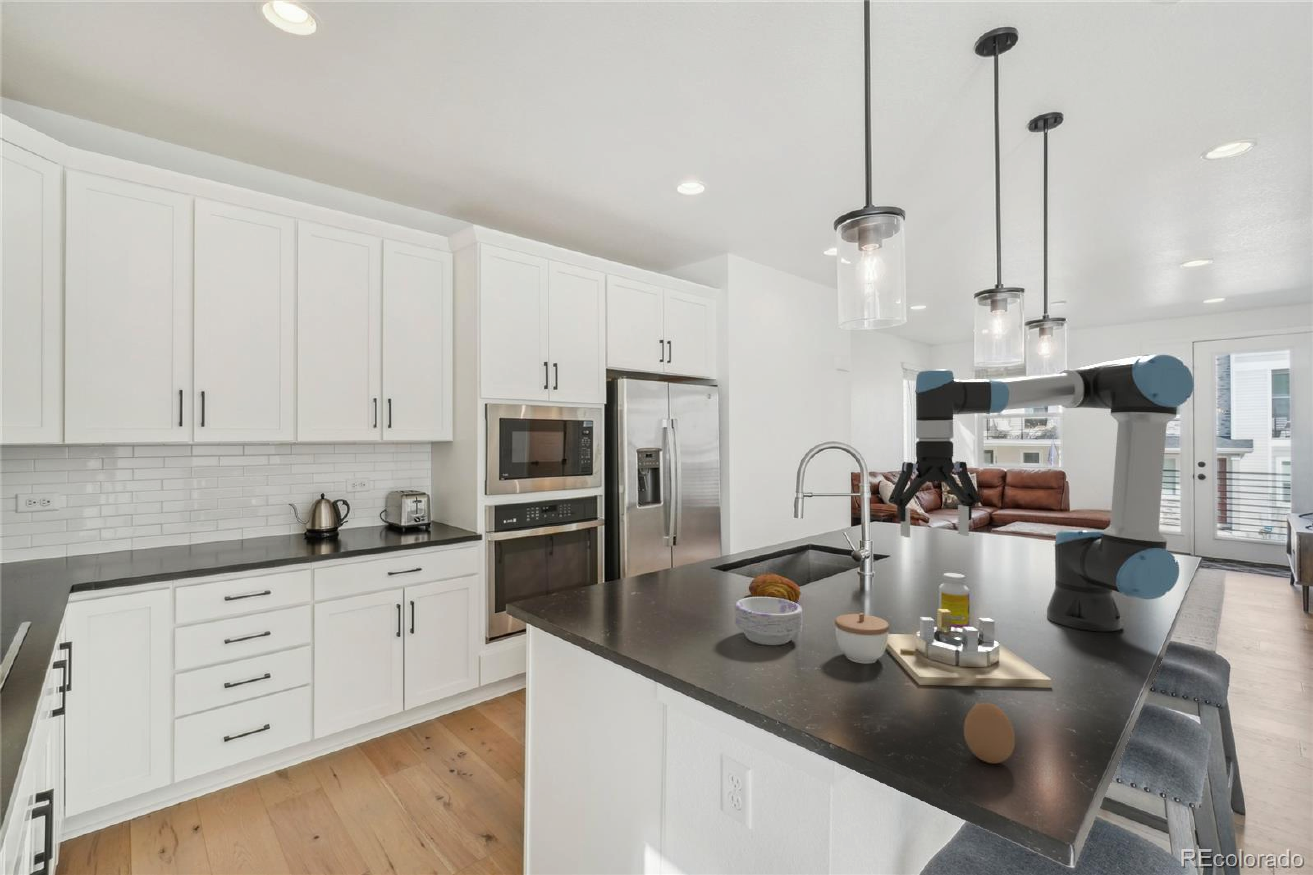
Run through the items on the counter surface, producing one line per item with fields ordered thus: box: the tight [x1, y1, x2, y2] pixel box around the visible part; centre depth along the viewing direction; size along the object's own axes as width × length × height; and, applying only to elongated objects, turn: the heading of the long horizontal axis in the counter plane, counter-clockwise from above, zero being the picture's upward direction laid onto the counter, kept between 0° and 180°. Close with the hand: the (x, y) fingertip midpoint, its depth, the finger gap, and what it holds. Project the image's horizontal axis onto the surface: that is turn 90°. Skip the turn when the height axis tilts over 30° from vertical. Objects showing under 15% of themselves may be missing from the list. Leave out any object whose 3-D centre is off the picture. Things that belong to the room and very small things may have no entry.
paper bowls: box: [734, 596, 803, 646], centre depth 137 cm, size 15×15×8 cm
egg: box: [963, 702, 1016, 764], centre depth 86 cm, size 6×6×8 cm
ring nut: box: [915, 608, 1000, 667], centre depth 123 cm, size 14×14×7 cm
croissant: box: [748, 573, 801, 603], centre depth 170 cm, size 14×16×8 cm
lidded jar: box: [834, 612, 890, 665], centre depth 125 cm, size 11×11×9 cm
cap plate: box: [886, 633, 1053, 689], centre depth 123 cm, size 24×24×2 cm
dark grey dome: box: [939, 632, 962, 647], centre depth 123 cm, size 6×6×4 cm
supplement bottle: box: [938, 572, 970, 629], centre depth 145 cm, size 7×7×13 cm
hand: (934, 535), depth 132 cm, fingers open, 13 cm apart
